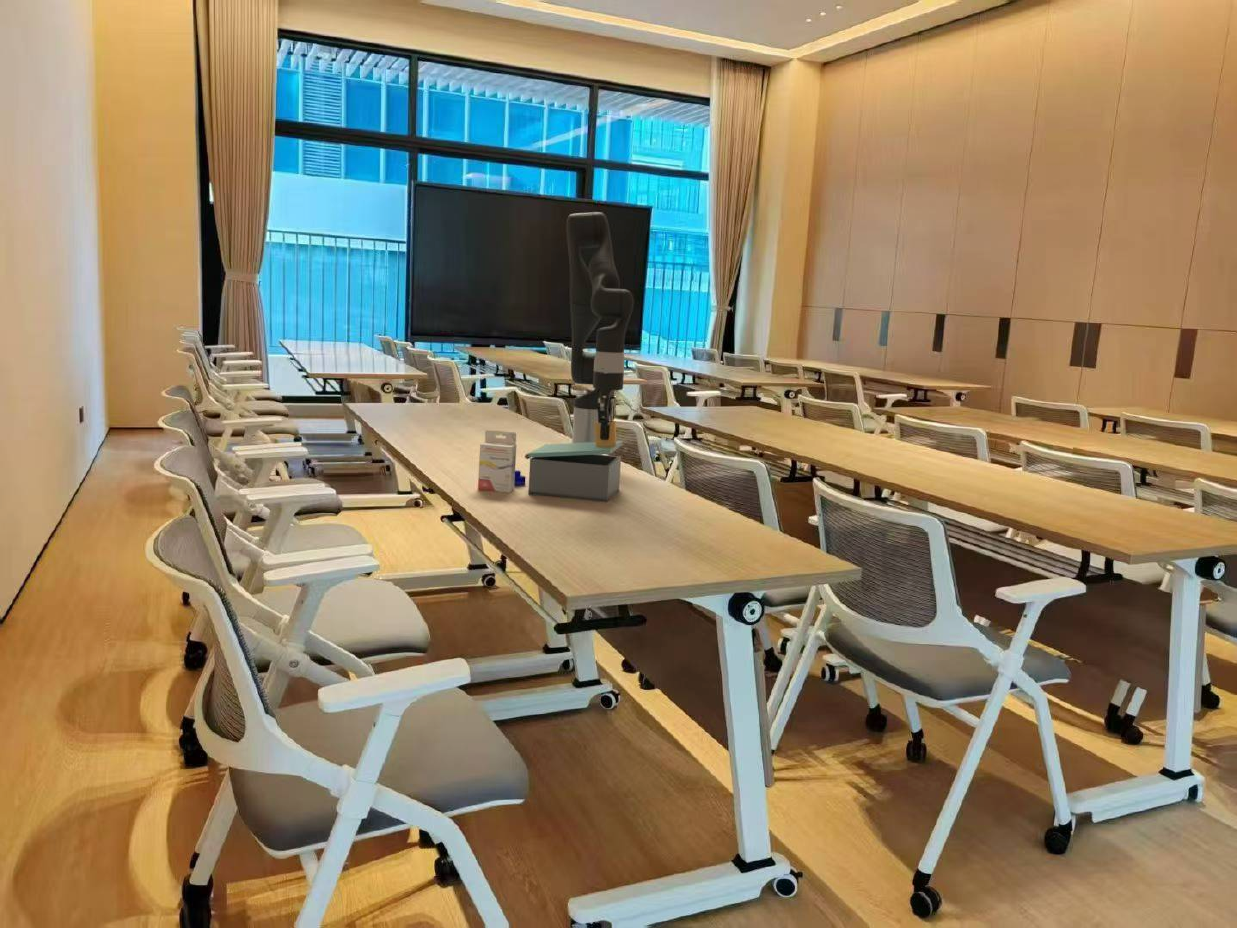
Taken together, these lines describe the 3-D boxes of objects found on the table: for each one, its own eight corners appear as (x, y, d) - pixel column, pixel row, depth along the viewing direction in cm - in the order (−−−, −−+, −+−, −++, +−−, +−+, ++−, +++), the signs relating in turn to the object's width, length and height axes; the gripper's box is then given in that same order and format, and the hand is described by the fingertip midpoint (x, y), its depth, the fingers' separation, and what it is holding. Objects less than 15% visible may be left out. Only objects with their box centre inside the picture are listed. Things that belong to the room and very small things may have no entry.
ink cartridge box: (477, 490, 236) (479, 432, 233) (481, 486, 240) (484, 429, 238) (510, 492, 235) (513, 434, 232) (514, 489, 240) (517, 432, 237)
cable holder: (525, 486, 245) (525, 471, 244) (512, 486, 243) (513, 471, 243) (511, 480, 252) (512, 465, 251) (499, 480, 250) (500, 466, 249)
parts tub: (545, 483, 250) (546, 449, 248) (618, 490, 246) (621, 456, 245) (528, 494, 234) (530, 458, 233) (606, 502, 231) (609, 466, 229)
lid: (541, 450, 249) (539, 422, 248) (622, 446, 244) (620, 417, 243) (524, 459, 233) (521, 429, 231) (610, 455, 228) (608, 425, 227)
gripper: (599, 367, 241) (596, 434, 244) (588, 370, 228) (584, 441, 230) (628, 369, 240) (624, 436, 242) (618, 372, 226) (614, 444, 229)
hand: (605, 438), depth 236 cm, fingers closed on lid
